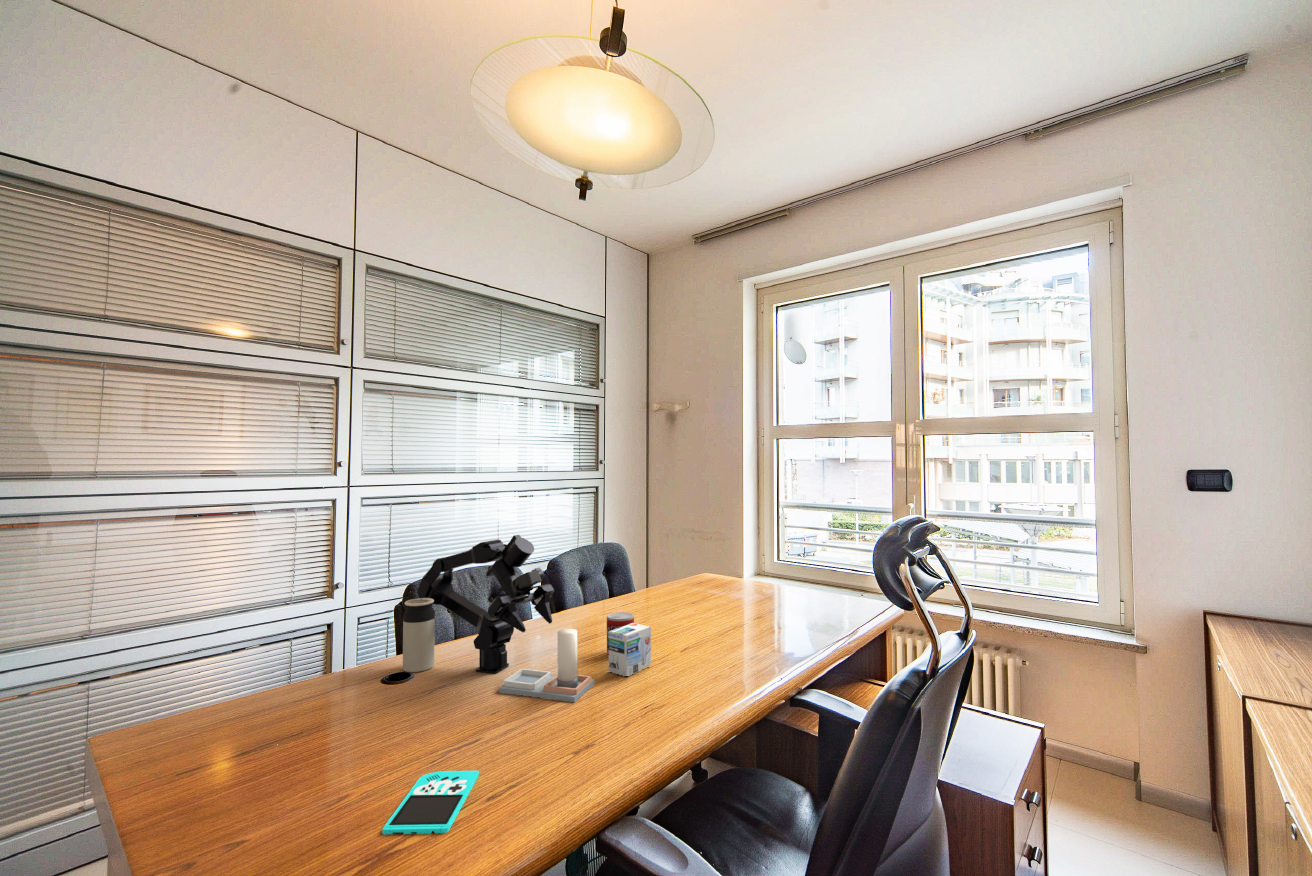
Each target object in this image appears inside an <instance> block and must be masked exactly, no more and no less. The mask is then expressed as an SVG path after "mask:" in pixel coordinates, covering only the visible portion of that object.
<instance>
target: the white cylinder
mask: <svg viewBox="0 0 1312 876" xmlns="http://www.w3.org/2000/svg"><path fill="white" fill-rule="evenodd" d="M556 633H557V675H558V677H557V686H558V687H566V688H576V687H577V686H578V675H579V674H578V673H579V672H578V662H579V661H578V630H577V629H575V628H563V629H559V630H558V631H557V632H556Z"/></svg>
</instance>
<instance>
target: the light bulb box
mask: <svg viewBox="0 0 1312 876" xmlns="http://www.w3.org/2000/svg"><path fill="white" fill-rule="evenodd" d="M651 641H652V627H651V626H648V625H644V624H640V623H635V622H634V623H631V624H629V625H626V626H623V627H620V628H617V629H614V630H612V631H609V655H608V672H609V671H610V672H613V673H612V674H614V673H616V674H615V675H617V674H619V675H618V676H621V675H623V676H622V677H624V676H629V675H631V676H632V674H633V675H635V674H637V673H636V672H638V671H640V670H642V669H644V668H646V667H648V666H650V665H651V666H652V642H651ZM646 669H647V668H646ZM644 670H645V669H644ZM642 671H643V670H642ZM610 672H609V673H610ZM640 672H641V671H640ZM634 673H635V674H634ZM638 673H639V672H638ZM629 677H630V676H629Z"/></svg>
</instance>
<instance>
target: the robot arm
mask: <svg viewBox="0 0 1312 876" xmlns="http://www.w3.org/2000/svg"><path fill="white" fill-rule="evenodd" d="M534 552H535V547H534V545H533V543H532V541H529V539H526V538H525V537H522V536H521V535H520V534H516V535H515V534H514V535H513V536H512V537H511V539H510V541H509V542H508V543H507V544H506V543H503V541H502V540H501V539H493V540H486V541H481V542H479V543H477V544H475V545H473V546H472V547H471V548H470V549H469V550H466V551H463V552H459V553H455V554H453V555H450V556H449V555H448V556H446V557H445V556H443V557H439V558H436V559H435V560H434V561H433V563H432V565H431V568H430V569H428V571H427V572H425V574H424V575H423V577H422V578H421V581H420V583H419V585H418V588H417V591H416V592H417V596H418V598H431V599H434V602H433V605H436V606H437V605H438V606H442V607H443V608H445V609H446V610H448V611H450V612H451V613H453V614H455V615H456V616H458V617H459V618H461V619H462V620H464V621H465V622H467V623H469V624H470V625H472V626H473V627H475V628H476V631H477V634H478V635H477V636H476V637H475V638H474V639H473V646H474V649H476V650H479V651H478V652H479V653H478V654H479V659H478V660H479V661H478V663H479V664H478V665H479V667H477V668H475V672H481V673H490V674H498V673H499V672H500V671H502V670H504V669H506V668H507V667H509V665H510V663H508V650H507V643H510V641H511V638H512V636H513V634H514V631H515V629H516V630H517V631H519V632H522V633H526V631H527V629H526V627H525V624H524V623H523V620H522V619H521V617H520V615H519V612H517V606H518V605H521V604H525V603H526V604H527V603H528V602H530V603H531V604H532V605H533V606H534V608H533V609H534V610H535V612H537V613H538V614H539V615H540V616H541V618H543V620H545V621H546V622H547V623H548V624H552V623H553V617H552V612H551V611H552V610H551V608H550V606H551V605H550V599H551V597H552V596H553V594H554V592H555V589H554V587H553V586H552V584H550V583H546V584H542V585H538V586H537V587H536V589H535V587H534V586H535V585H537V584H540V583H542V582H543V581H542V580H543V579H544V578H545V574H544V570H543V569H542V568H541V567H536V568H534V569H531V571H528V572H524V573H520V572H519V571H518V569H517V568H520V567H522V566H523V565H524V564H525V562H526V561H527V560H528V559H529V557H530V556H531V555H532V554H533V553H534ZM492 562H494V563H492ZM487 563H492V565H489V566H487V571H486V576H485V577H495V580H496V581H497V583H498V585H499V587H500V588H499V589H498V591H499V593H500V594H502V595H498V596H495V598H494V599H493V601H492V602H491V603H490V604H489V606H488V608H487V610H485V609H484V608H482V607H480V606H479V605H477V604H475V603H473V602H472V601H470V600H469V599H467V598H466V597H464V596H462V595H461V594H459V593H458V592H457V591H455V590H454V587H453V584H452V583H453V581H454V578H453V577H454V574H453V571H454V569H457V568H460V567H464V566H468V565H472V564H487ZM441 573H443V575H442V577H440V575H441ZM533 589H535V590H534V591H533ZM532 591H533V592H532ZM503 593H504V594H503Z"/></svg>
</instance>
